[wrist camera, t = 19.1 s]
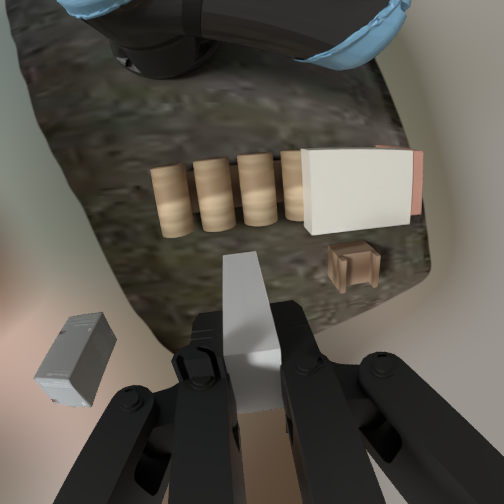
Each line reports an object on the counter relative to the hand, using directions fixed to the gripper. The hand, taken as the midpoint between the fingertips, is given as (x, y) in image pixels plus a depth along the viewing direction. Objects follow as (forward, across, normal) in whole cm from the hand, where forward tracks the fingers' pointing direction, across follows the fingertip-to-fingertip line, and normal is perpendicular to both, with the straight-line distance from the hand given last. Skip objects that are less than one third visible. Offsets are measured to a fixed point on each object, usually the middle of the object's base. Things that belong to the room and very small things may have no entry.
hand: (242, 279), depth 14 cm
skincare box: (+27, -28, -21) cm, 44 cm away
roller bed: (+26, +6, 0) cm, 27 cm away
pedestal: (+26, +16, -13) cm, 34 cm away
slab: (+20, +14, 0) cm, 24 cm away
